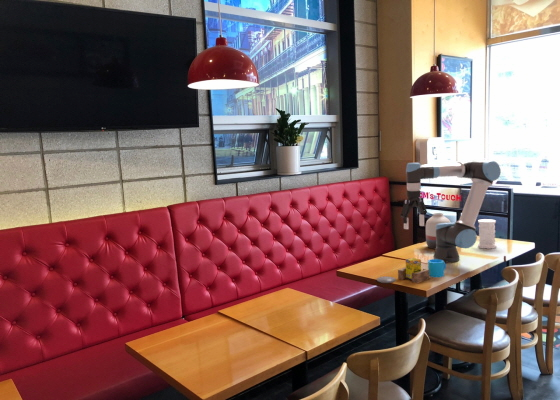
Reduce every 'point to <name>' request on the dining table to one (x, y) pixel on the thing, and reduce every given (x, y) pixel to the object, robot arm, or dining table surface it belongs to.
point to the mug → (436, 267)
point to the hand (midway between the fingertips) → (414, 227)
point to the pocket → (414, 275)
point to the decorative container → (487, 233)
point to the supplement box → (412, 267)
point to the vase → (434, 228)
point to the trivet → (386, 279)
